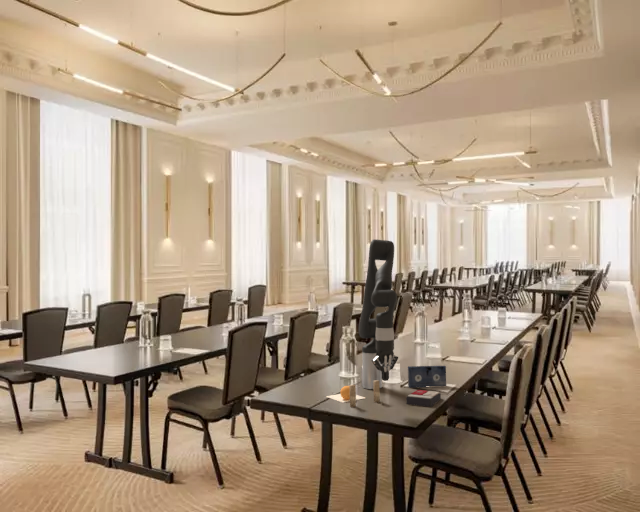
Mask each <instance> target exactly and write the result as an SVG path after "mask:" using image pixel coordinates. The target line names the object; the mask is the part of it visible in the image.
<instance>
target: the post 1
mask: <svg viewBox="0 0 640 512" xmlns="http://www.w3.org/2000/svg"><path fill="white" fill-rule="evenodd" d="M349 386H350V401H349V408H356V407H357V400H356V395H357V390H356V389H357V387H356V386H357V385H356V384H349Z"/></svg>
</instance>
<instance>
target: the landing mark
mask: <svg viewBox="0 0 640 512" xmlns="http://www.w3.org/2000/svg"><path fill="white" fill-rule="evenodd" d="M325 397H326V398H328V399H329V400H333V401H337V402H338V403H339V402H340V403H341V404H343V403H344V404H345V403H350V399H348V400H346V399H343V398H342V397H341V394H340V393H337V394H333V395H332V394H331V395H327V396H325ZM364 399H365V400H366V397H364V396H361V395H360V394H359V395H358V394H356V401H359V400H364Z"/></svg>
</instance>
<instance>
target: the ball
mask: <svg viewBox="0 0 640 512" xmlns="http://www.w3.org/2000/svg"><path fill="white" fill-rule="evenodd" d="M339 392H340V393H339V394H341V397H342V398H343V399H346V400H348V399H350V385H344V386H343V387H341V389H340V391H339Z"/></svg>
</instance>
